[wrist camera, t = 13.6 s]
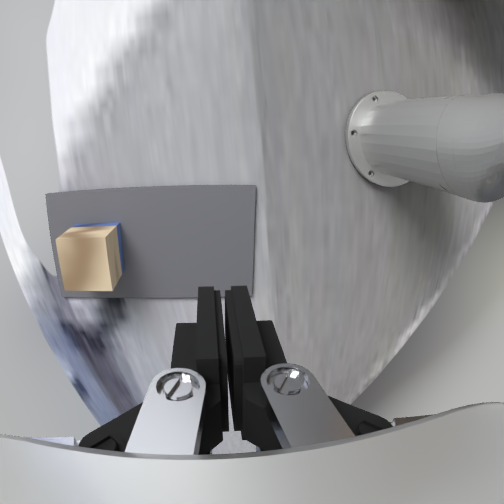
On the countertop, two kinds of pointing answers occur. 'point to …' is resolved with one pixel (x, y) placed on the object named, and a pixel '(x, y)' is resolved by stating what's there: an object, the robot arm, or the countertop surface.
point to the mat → (167, 236)
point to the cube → (91, 256)
